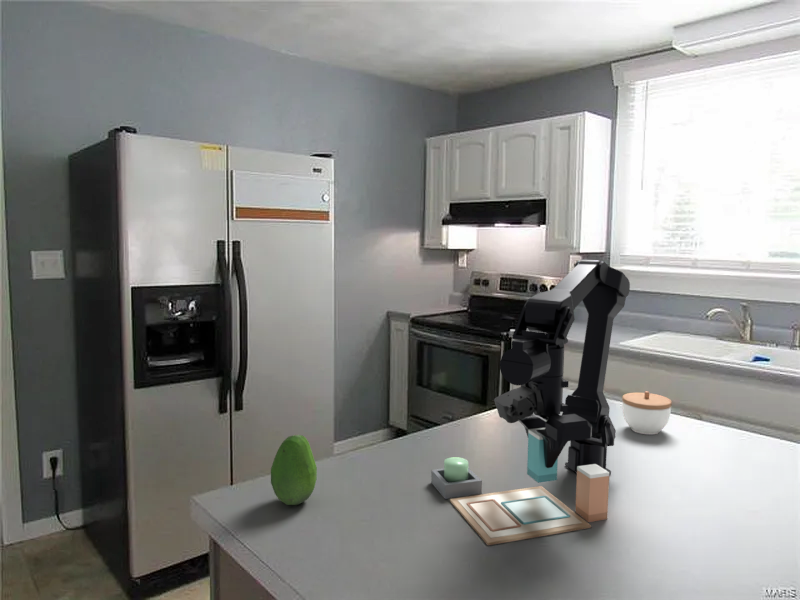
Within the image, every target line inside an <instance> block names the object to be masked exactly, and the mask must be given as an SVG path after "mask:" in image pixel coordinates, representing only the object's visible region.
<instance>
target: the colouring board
mask: <svg viewBox="0 0 800 600" xmlns="http://www.w3.org/2000/svg"><path fill="white" fill-rule="evenodd" d="M449 502H450V503H451V504H452V505H453V507H454V508H455V509H456V510H457V511H458V512H459V514H460V515H461V516H462V517H463V518H464V519H465V520H466V522H467V523H468V524H469V525H470V527H471V528H472V529H473V530H474V531H475V532H476V534H477V535H478V536H479V537H480V538H481V540H482V541H483V542H484V543H485V544H486V546H493V545H497V544H498V545H499V544H503V543H510V542H515V541H521V540H528V539H533V538H534V539H535V538H538V537H545V536H551V535H556V534H563V533H568V532H573V531H580V530H586V529H591V528H592V525H591V524H590V522H587V521H586V520H585V519H584V518H582V517H581V516H580V515H578V514H577V513H576V512H575V511H574V510H572V509H571V508H570V507H568V505H566V504H565V503H564V502H562V501H561V500H560V499H559V498H557V497H556V496H554V495H553V494H552V493H551V492H550V491H549V490H547V489H546V488H545V487H543V486H542V485H539V486H532V487H525V488H524V487H523V488H519V489H518V488H517V489H510V490H509V489H508V490H503V491H495V492H489V493H482V494H477V495H470V496H463V497H456V498H449Z"/></svg>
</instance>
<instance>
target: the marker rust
mask: <svg viewBox="0 0 800 600" xmlns="http://www.w3.org/2000/svg"><path fill="white" fill-rule="evenodd" d="M575 484H576V485H575V486H576V487H575V508H574V509H575V511H574V512H575V513H576V514H577V515H579V516H580V517H581V518H582V519H584V520H585V521H586V522H587V523H593V522H598V521H603V520H608V509H609V508H608V507H609V492H610V491H609V490H610V489H609V487H610V474H609V472H608V471H607V470H605V469H603V468H602V467H600V466H598V465H597V464H591V465H583V466H577V473H576V483H575Z"/></svg>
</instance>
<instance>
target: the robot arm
mask: <svg viewBox="0 0 800 600" xmlns="http://www.w3.org/2000/svg"><path fill="white" fill-rule="evenodd" d="M630 289H631V284H630V280H629V279H628V277H627V276H626V275H625V273H623V272H622V271H621V270H619V269H616V268H613V267H611V266H609V265H608V264H607V262H605V261H602V260H601V259H599V260H597V259H580V260H578V261H576V262H575V265H574V268H573V269H571V270H570V272H568V274H566V276H564V277H563V279H561V280H560V281H559V282H558V283H557V284H556V286H554V287H553V288H552V289H550V290H546V291H543V292H537V293H536V294H534V295H533V296H530V297H529V298H528V299H527V301H526V302H525V303H524V305H523V307H522V309H521V311H520V315H519V318H518V321H517V323H516V326H515V328H514V331H513V335H512V342H511V348H510V349H509V348H508V349H507V350H506V351H505V352H504V353H503V354H502V356H501V358H500V360H499V370H500V373H501V375H502V378H503V379H504V380H505V381H506V382H508V383H509V384H510V385H513V386H520V387H517V388H514V389H511V390H509V391H506V392H504V393H502V394H500V395H497V396H496V397H494V399H493V402H494V404H495V406H496V410H497V413H498V416H499V418H501V419H503V420H505V421H506V422H507V423H509V424H514V423H517V422H519V423H520V424H521V425H522V426H523V428H524V429H525V430H524V431H525V433H526V435H527V436H526V437H528V429H536V428H545V429H541V430H536V431H537V433H538V434H539V435H540V436H541V437H542V438H543V444H544V458H545V466H546V467H547V468H551V467H553V465H554V463H555V462H556V460H557V458H559V457H560V455H561V452H562V451H563V449H564V448H565V447H566V445H567V444H568V442H570V445H569V446H568V449H567V451H568V453H567V454H568V455H567V462H564V466H565V467H566V468H568V469H569V470H571V471H572V472H574V473H575V474H577V466H583V465H591V464H597V465H598V466H600V467H602V468H603V469H605V470H607V471H608V472H609V475H611V474H612V471H611V470H610V469H609V468H607V456H608V455H607V453H608V452H607V451H608V447H613V446H615V439H616V434H617V433H616V431H617V429H616V428H615V426H614V424H613V422H612V420H611V417H610V405H609V403H608V401H607V398H606V396H605V394H604V387H605V380H606V374H607V373H606V372H607V365H608V360H609V355H610V354H609V352H610V346H611V339H612V332H613V327H614V326H613V325H614V321H615V320H614V319H615V318H616V316H618V314H619V313H620V312H621V311H622V310H623V309H624V307H625V305H626V299H627V297H628V296H629V294H630ZM581 302H582V303H583V305H584V307H585V309H586V312H587V315H588V316H587V320H586V321H587V322H586V327H585V328H586V329H585V334H584V343H583V348H582V356H581V362H580V367H579V369H580V370H579V376H578V381H577V388H576V389H575V390H574V391H573V392H572V393H571V394H568V395H567V396H566V397H565V401H564V403H563V396H564V395H563V393H564V392H563V391H564V390H563V389H564V388H569V380H567V379H564V367H565V366H564V365H565V364H564V363H565V345H566V344H568V343H569V339H568V338H567V337H568V335H569V332H570V330H571V328H572V326H573V323H574V322H575V309H576V308H577V306H578V305H579V304H580V303H581ZM561 413H562V414H561Z"/></svg>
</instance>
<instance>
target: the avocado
mask: <svg viewBox="0 0 800 600" xmlns="http://www.w3.org/2000/svg"><path fill="white" fill-rule="evenodd" d="M317 473H318V469H317V463H316V461H315V458H314V454H313V450H312V448H311V444H310V442H309V441H308V439H307V437H305V436H303V435H301V434H293V435H290V436H287V437H286V438H285V439H284V440H283V441H282V443H281V444H280V446H279V448H278V449H277V451H276V454H275V456H274V458H273V462H272V465H271V468H270V484H271V487H272V490H273V493H274V495H275V496H276V498H278V500H279V501H280V502H282V504H285V505H287V506H298V505H300V504H301V503H304V502H305V501H307V500H309V498H310V497H311V495H312V493H313V492H314V490H315V488H316V483H317V477H318V474H317Z"/></svg>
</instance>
